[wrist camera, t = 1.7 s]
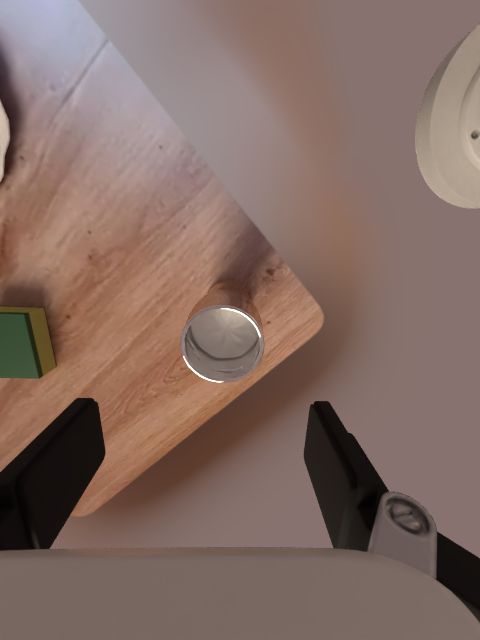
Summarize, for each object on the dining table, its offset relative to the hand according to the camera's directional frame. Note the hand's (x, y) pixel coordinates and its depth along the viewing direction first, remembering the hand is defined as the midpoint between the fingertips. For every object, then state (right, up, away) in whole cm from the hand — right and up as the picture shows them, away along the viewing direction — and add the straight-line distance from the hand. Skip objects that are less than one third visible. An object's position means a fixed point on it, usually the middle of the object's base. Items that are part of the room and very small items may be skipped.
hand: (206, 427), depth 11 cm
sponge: (-28, +2, +24) cm, 37 cm away
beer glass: (0, +7, +23) cm, 24 cm away
